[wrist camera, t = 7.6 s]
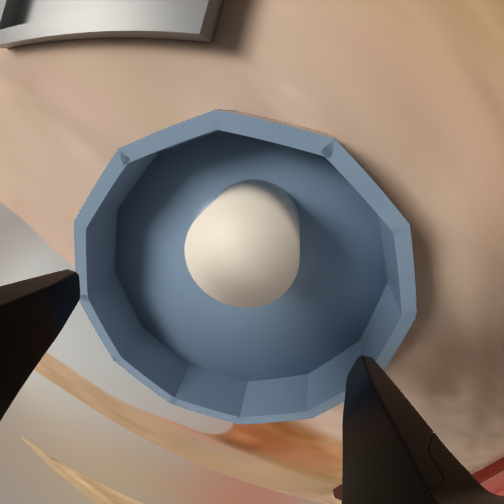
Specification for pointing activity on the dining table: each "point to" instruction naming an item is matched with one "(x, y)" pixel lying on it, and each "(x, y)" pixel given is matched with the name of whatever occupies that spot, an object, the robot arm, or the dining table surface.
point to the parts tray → (106, 20)
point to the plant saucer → (492, 477)
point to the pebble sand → (245, 244)
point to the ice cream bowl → (338, 492)
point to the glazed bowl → (238, 318)
